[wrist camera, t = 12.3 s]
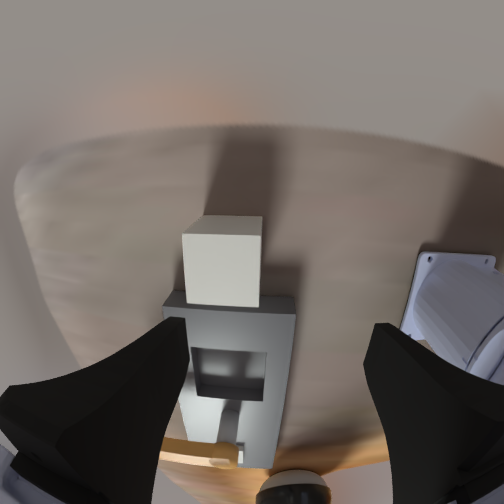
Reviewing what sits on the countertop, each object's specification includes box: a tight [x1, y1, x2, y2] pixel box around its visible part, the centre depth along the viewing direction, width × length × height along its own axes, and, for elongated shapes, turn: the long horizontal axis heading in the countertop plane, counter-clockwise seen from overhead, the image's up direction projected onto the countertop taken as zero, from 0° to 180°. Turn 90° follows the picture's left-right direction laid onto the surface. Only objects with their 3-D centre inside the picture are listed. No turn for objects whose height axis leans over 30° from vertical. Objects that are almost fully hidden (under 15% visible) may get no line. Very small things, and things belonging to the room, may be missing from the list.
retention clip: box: [159, 437, 239, 469], centre depth 17 cm, size 2×9×2 cm, turn 93°
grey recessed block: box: [162, 290, 296, 469], centre depth 21 cm, size 9×22×6 cm, turn 179°
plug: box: [182, 215, 263, 307], centre depth 17 cm, size 4×4×5 cm
